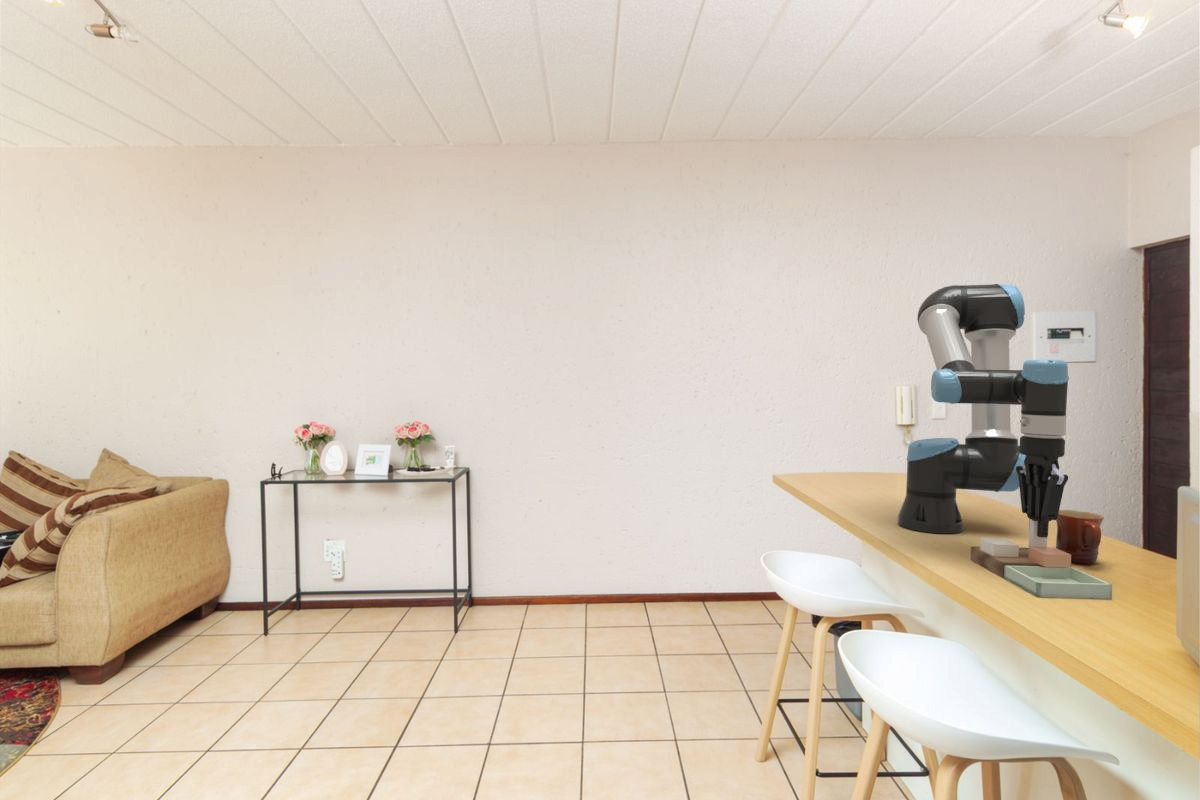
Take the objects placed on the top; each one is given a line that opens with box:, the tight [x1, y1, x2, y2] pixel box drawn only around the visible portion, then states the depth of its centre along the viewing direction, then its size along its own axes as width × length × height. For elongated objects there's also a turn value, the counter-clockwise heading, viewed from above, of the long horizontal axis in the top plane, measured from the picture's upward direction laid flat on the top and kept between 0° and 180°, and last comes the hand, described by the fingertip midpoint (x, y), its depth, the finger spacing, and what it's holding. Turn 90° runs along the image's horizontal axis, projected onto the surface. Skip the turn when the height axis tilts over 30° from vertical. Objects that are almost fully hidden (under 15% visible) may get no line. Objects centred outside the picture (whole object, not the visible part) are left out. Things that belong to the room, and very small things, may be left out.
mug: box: [1055, 509, 1105, 566], centre depth 137 cm, size 12×9×10 cm
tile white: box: [979, 537, 1020, 557], centre depth 133 cm, size 5×5×2 cm
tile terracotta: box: [1028, 546, 1072, 567], centre depth 127 cm, size 5×5×2 cm
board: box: [970, 546, 1042, 579], centre depth 132 cm, size 12×13×3 cm
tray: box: [1003, 565, 1113, 600], centre depth 121 cm, size 10×13×3 cm
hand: (1037, 551), depth 130 cm, fingers closed
